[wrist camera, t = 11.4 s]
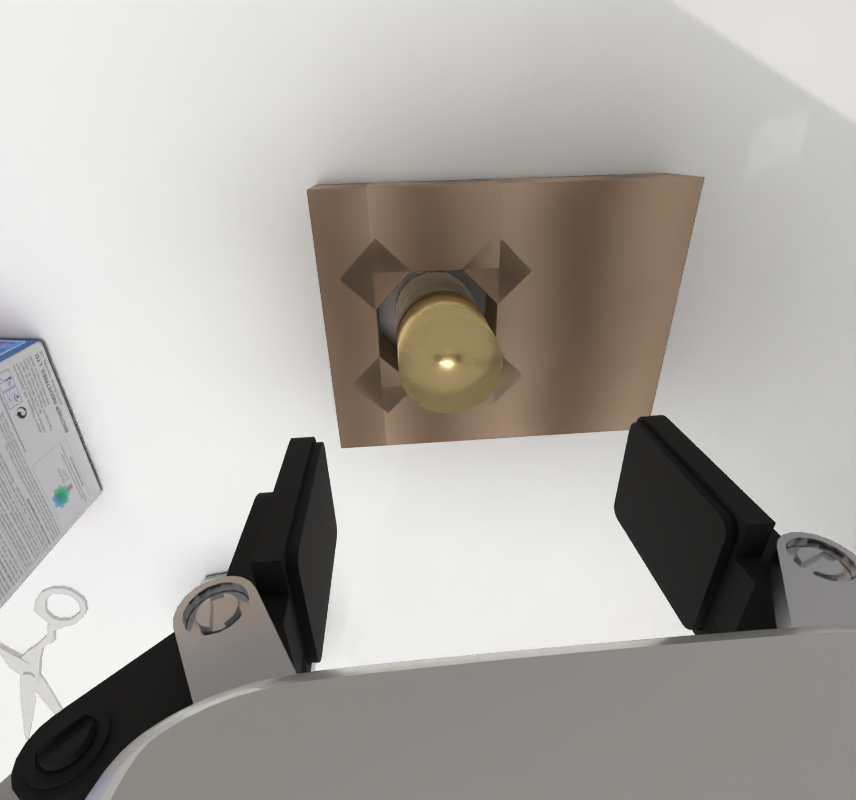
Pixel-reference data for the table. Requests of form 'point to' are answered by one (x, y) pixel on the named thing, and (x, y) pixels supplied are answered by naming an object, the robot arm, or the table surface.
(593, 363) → the jig
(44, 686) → the scissors
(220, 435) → the table surface
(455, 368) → the brass cylinder
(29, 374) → the ink cartridge box
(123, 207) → the table surface
